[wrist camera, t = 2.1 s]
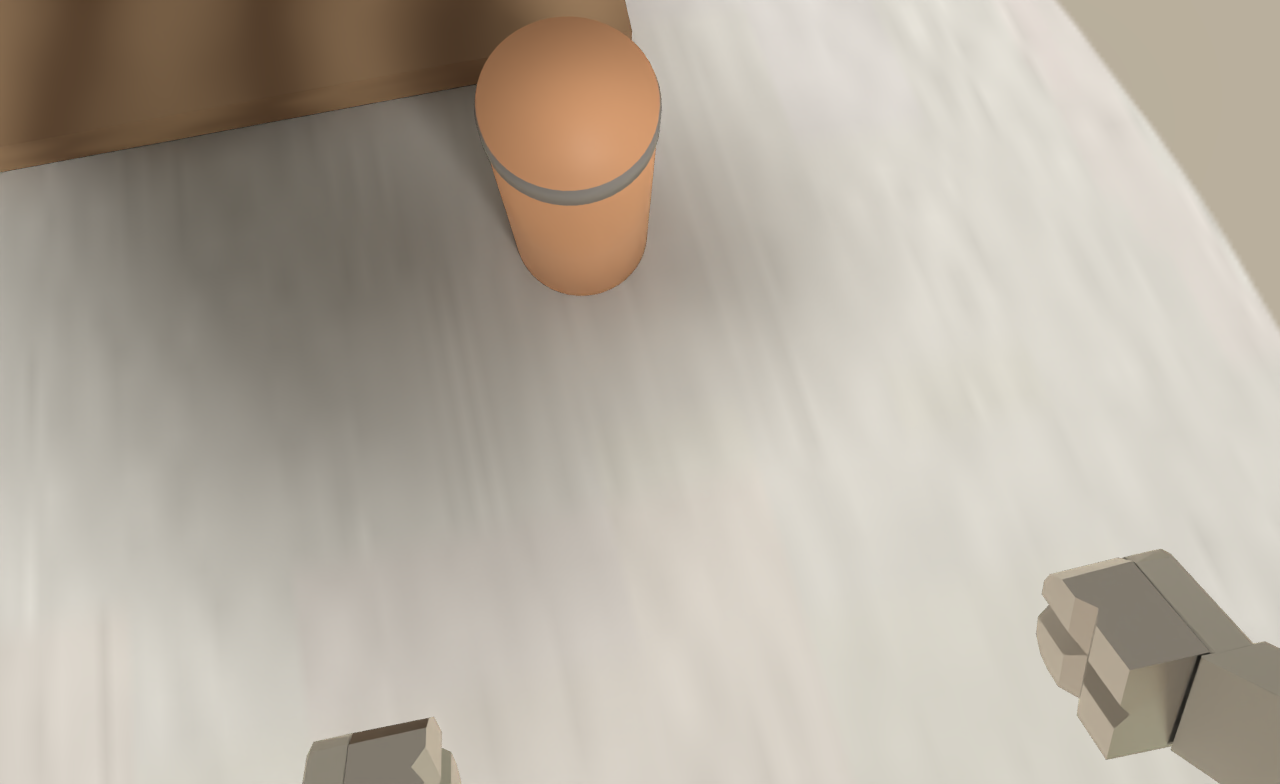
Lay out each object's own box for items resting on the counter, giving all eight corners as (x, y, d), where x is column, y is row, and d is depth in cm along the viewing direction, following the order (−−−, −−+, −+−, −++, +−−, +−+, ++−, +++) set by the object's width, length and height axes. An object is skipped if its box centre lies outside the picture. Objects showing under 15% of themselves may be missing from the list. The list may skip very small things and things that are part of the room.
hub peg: (528, 309, 30) (492, 206, 21) (502, 183, 31) (457, 32, 22) (661, 282, 30) (680, 169, 21) (632, 158, 31) (640, -1, 22)
